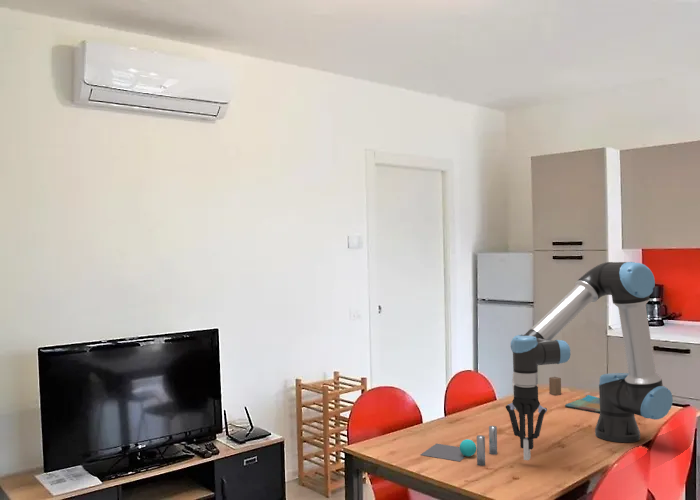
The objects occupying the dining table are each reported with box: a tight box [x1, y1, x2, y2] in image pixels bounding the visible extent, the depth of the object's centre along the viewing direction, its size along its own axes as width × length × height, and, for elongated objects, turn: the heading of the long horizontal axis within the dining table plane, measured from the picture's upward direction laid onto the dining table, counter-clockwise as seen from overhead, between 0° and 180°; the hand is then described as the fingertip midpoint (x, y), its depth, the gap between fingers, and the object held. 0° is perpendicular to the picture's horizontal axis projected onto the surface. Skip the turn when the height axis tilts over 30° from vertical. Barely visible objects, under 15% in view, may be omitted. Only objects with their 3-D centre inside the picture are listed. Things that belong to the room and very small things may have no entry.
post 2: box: [488, 425, 498, 456], centre depth 208 cm, size 3×3×9 cm
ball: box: [459, 438, 477, 457], centre depth 206 cm, size 6×6×6 cm
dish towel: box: [564, 394, 600, 415], centre depth 271 cm, size 17×23×2 cm
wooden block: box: [548, 376, 562, 396], centre depth 294 cm, size 4×4×8 cm
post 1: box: [476, 434, 486, 467], centre depth 197 cm, size 3×3×9 cm
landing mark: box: [419, 443, 467, 463], centre depth 210 cm, size 14×14×1 cm
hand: (527, 458), depth 196 cm, fingers closed
